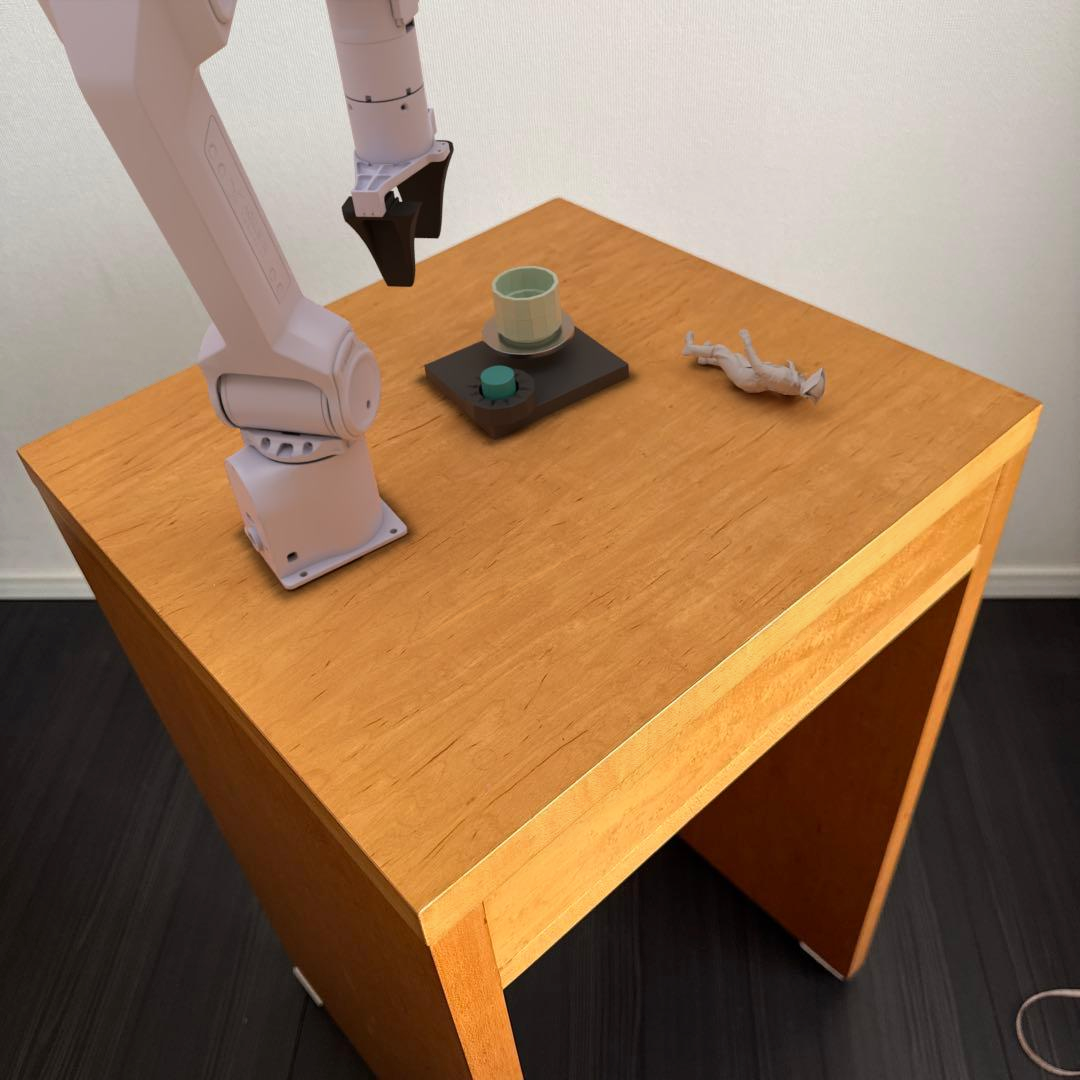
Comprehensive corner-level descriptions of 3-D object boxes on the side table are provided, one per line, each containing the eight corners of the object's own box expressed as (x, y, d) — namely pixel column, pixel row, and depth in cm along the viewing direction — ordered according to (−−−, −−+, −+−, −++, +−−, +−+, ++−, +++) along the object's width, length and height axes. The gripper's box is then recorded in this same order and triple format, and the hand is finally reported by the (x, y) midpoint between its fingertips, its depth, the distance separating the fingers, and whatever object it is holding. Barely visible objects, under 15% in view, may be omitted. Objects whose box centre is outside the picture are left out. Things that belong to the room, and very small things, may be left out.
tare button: (494, 405, 86) (491, 388, 85) (476, 390, 88) (474, 373, 87) (522, 392, 87) (520, 376, 86) (504, 378, 89) (502, 361, 88)
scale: (491, 449, 86) (487, 417, 84) (418, 382, 94) (412, 351, 92) (634, 382, 91) (633, 350, 89) (554, 323, 99) (551, 293, 97)
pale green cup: (520, 353, 89) (515, 307, 87) (485, 326, 93) (478, 280, 90) (574, 329, 91) (571, 283, 88) (538, 303, 95) (533, 258, 92)
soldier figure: (728, 353, 95) (856, 355, 87) (715, 409, 95) (843, 416, 86) (674, 322, 89) (806, 321, 81) (661, 381, 89) (792, 386, 81)
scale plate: (514, 370, 89) (513, 365, 88) (465, 331, 94) (464, 326, 93) (592, 335, 91) (592, 330, 91) (541, 299, 96) (540, 294, 96)
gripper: (408, 129, 74) (438, 309, 83) (463, 49, 84) (484, 217, 93) (308, 129, 75) (348, 306, 84) (374, 50, 86) (403, 216, 95)
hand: (414, 259), depth 89 cm, fingers open, 7 cm apart
